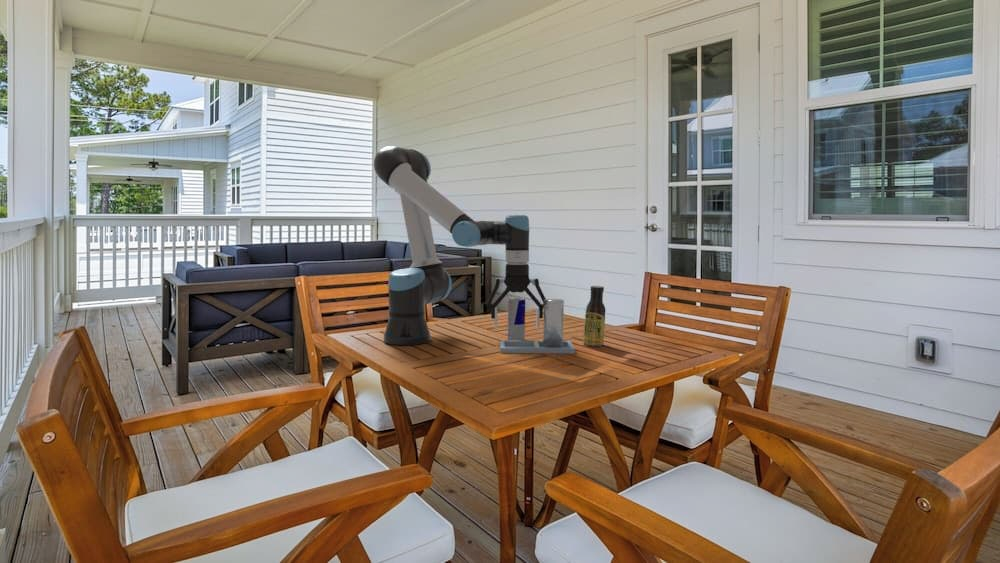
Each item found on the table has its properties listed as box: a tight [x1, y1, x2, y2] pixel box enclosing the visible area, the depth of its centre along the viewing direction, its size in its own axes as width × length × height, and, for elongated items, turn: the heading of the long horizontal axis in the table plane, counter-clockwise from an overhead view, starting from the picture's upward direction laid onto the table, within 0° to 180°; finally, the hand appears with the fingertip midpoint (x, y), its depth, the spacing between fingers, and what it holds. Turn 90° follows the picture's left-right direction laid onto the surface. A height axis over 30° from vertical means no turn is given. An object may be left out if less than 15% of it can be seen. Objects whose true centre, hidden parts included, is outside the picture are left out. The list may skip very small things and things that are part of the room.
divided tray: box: [499, 339, 576, 354], centre depth 166 cm, size 22×10×3 cm, turn 91°
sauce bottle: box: [583, 285, 606, 348], centre depth 171 cm, size 6×6×20 cm
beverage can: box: [507, 296, 526, 341], centre depth 177 cm, size 6×6×15 cm
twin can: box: [542, 298, 565, 348], centre depth 165 cm, size 6×6×15 cm
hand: (516, 328), depth 177 cm, fingers open, 13 cm apart
